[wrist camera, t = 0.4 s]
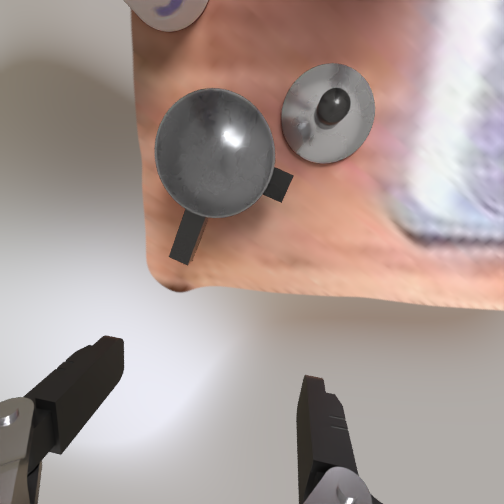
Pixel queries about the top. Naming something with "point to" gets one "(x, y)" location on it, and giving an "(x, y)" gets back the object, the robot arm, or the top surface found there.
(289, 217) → the top surface
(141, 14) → the container
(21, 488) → the robot arm
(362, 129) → the lid
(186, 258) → the pot
